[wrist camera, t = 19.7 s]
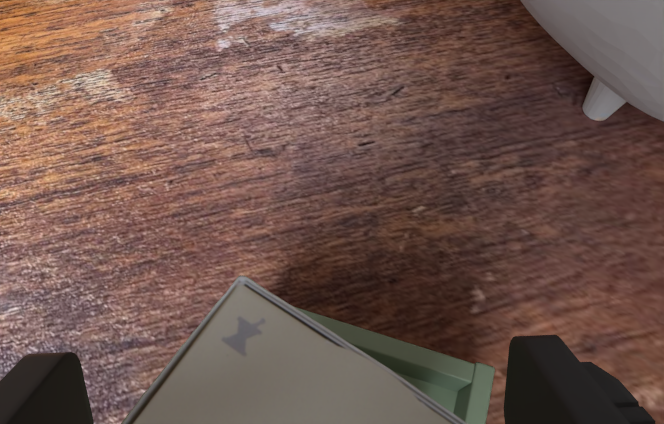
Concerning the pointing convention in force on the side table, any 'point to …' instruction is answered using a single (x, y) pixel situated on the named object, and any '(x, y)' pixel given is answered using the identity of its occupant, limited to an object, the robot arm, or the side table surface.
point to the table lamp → (611, 49)
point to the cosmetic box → (277, 373)
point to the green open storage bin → (424, 369)
